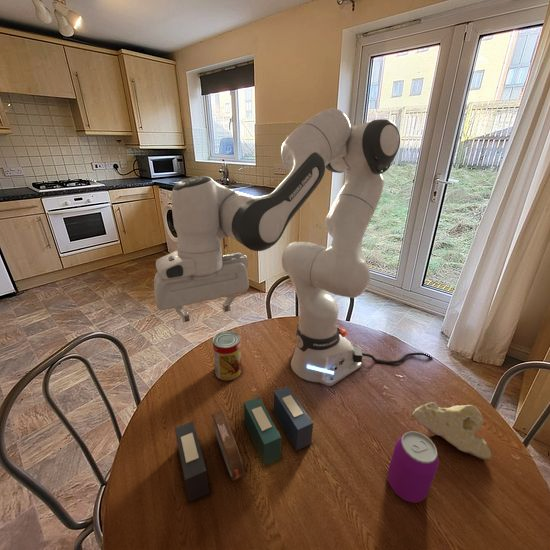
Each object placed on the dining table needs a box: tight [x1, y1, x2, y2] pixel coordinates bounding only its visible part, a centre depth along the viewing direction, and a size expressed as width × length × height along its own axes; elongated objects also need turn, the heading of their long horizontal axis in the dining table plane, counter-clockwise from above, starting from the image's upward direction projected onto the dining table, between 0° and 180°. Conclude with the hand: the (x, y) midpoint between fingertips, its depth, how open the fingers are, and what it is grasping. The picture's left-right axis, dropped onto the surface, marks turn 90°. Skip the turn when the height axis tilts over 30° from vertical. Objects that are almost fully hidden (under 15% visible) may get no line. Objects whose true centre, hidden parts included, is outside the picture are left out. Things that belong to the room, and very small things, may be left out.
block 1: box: [174, 420, 210, 503], centre depth 61 cm, size 4×12×7 cm, turn 26°
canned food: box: [212, 330, 242, 381], centre depth 87 cm, size 8×8×12 cm
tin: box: [211, 409, 245, 481], centre depth 63 cm, size 15×3×8 cm, turn 26°
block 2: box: [243, 396, 282, 467], centre depth 67 cm, size 4×12×7 cm, turn 26°
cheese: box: [411, 400, 492, 460], centre depth 69 cm, size 15×7×15 cm
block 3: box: [272, 385, 314, 451], centre depth 71 cm, size 4×12×7 cm, turn 26°
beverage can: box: [387, 430, 440, 504], centre depth 58 cm, size 8×8×12 cm
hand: (206, 315), depth 67 cm, fingers open, 8 cm apart
